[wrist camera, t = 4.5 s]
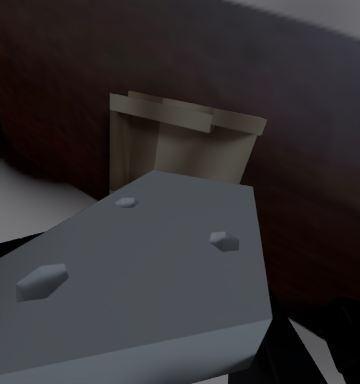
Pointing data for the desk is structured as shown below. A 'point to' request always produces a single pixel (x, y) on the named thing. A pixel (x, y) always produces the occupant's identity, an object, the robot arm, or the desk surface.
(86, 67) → the desk surface
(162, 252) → the white wedge bracket
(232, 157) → the slotted track
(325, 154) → the desk surface
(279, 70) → the desk surface
